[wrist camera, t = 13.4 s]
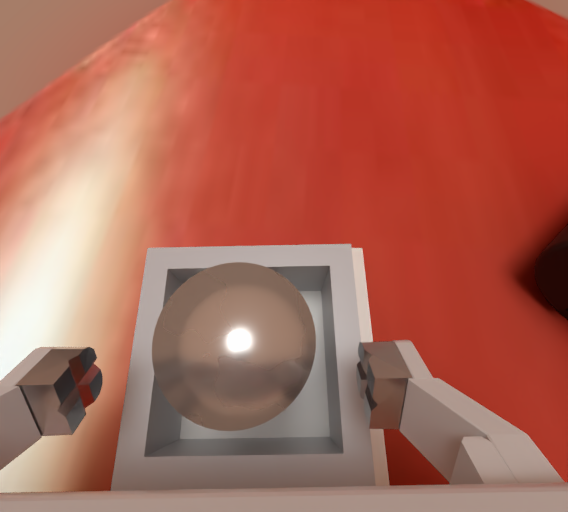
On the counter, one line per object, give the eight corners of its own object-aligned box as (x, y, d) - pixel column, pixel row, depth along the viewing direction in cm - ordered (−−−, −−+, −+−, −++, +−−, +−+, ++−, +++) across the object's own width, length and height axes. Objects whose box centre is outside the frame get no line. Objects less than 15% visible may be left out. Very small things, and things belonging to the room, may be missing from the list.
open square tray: (123, 500, 15) (55, 547, 10) (157, 255, 19) (120, 218, 15) (387, 496, 15) (428, 542, 10) (360, 251, 19) (380, 213, 15)
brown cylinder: (211, 409, 15) (140, 432, 8) (217, 316, 17) (162, 263, 10) (305, 408, 15) (320, 429, 8) (301, 314, 17) (311, 260, 10)
